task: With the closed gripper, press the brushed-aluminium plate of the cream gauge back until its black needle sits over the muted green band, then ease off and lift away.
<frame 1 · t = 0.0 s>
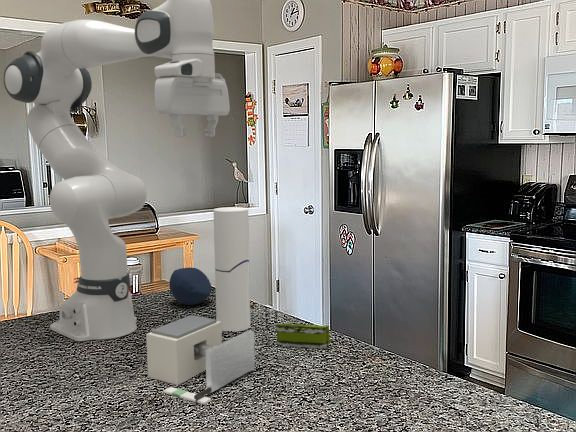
hand: (195, 136, 131), 48 cm above the countertop, tool pointing down, fingers open, 8 cm apart
decorative stone: (190, 304, 177), on the countertop
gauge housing: (186, 369, 128), on the countertop
toy tank: (290, 344, 144), on the countertop
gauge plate: (204, 358, 122), point 4 cm above the countertop, slide at 0.0 cm
container: (233, 327, 156), on the countertop
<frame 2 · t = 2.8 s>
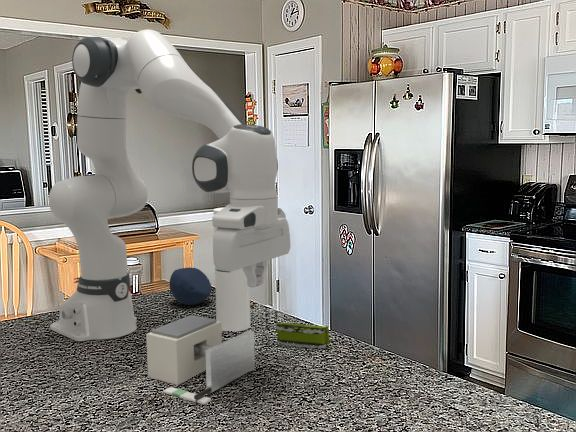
hand: (255, 285, 116), 20 cm above the countertop, tool pointing down, fingers closed
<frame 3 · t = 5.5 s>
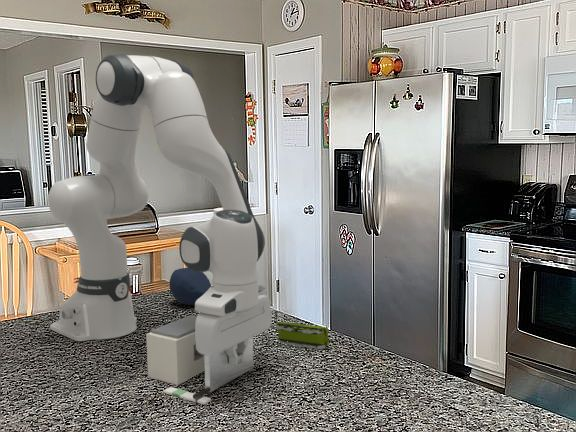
hand: (237, 363, 121), 4 cm above the countertop, tool pointing down, fingers closed, pressing on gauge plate
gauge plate: (203, 358, 122), point 4 cm above the countertop, slide at 0.3 cm, touching gripper
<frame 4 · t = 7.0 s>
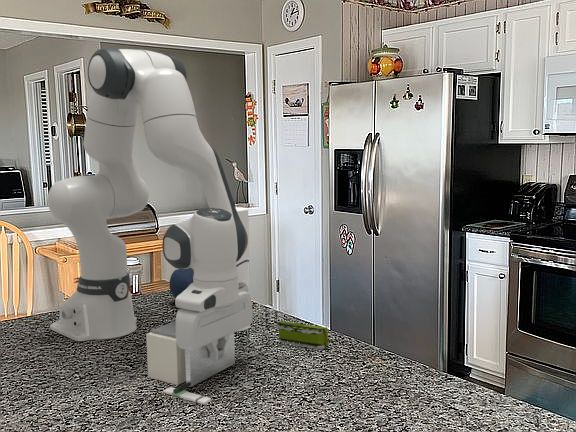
hand: (217, 358, 123), 4 cm above the countertop, tool pointing down, fingers closed
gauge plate: (185, 353, 125), point 4 cm above the countertop, slide at 5.1 cm, touching gripper
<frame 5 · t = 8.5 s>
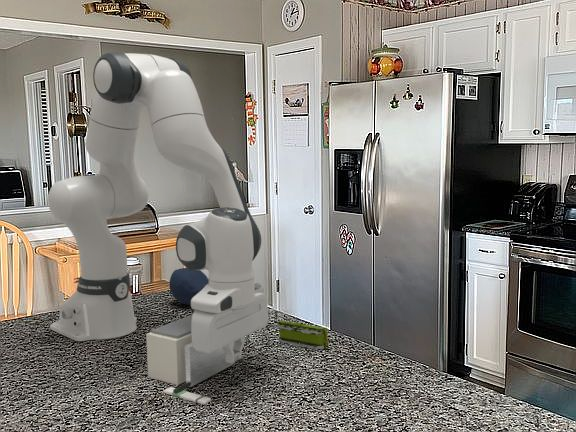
hand: (233, 360, 121), 4 cm above the countertop, tool pointing down, fingers closed
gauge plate: (185, 353, 125), point 4 cm above the countertop, slide at 5.1 cm
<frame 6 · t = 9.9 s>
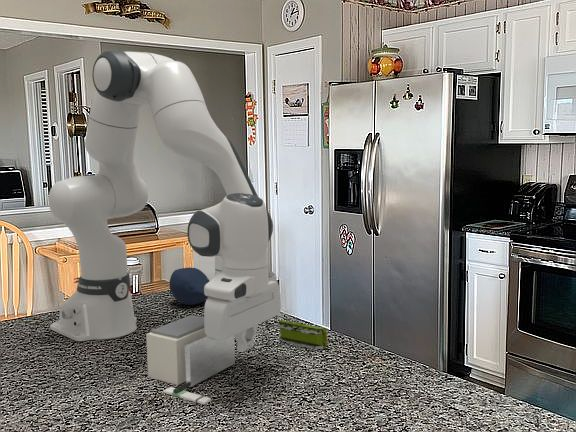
hand: (245, 349, 119), 7 cm above the countertop, tool pointing down, fingers closed
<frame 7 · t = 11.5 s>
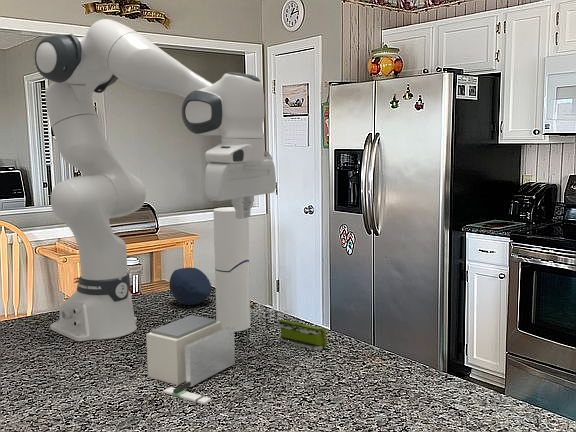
hand: (243, 218, 130), 31 cm above the countertop, tool pointing down, fingers closed
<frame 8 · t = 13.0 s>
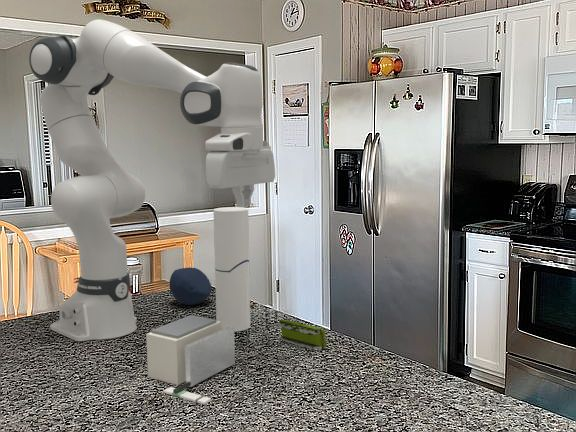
hand: (243, 206, 131), 33 cm above the countertop, tool pointing down, fingers closed
at the end: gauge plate slide at 5.1 cm; toy tank moved 2.3 cm from its start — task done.
